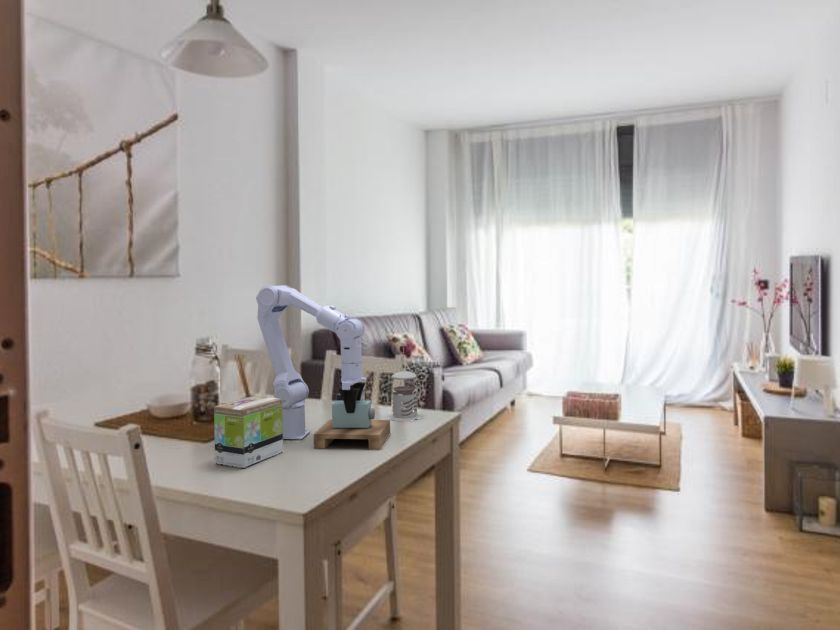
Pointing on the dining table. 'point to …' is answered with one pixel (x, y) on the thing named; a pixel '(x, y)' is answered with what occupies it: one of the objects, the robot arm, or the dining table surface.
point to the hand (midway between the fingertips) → (352, 410)
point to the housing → (352, 415)
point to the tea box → (248, 431)
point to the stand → (353, 434)
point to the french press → (404, 396)
